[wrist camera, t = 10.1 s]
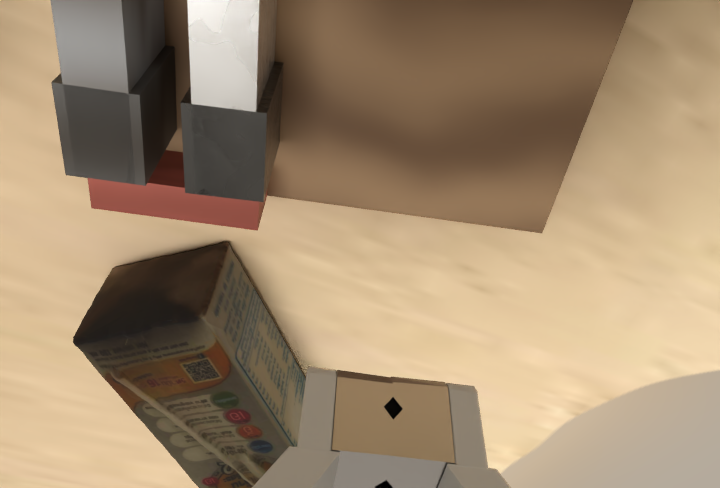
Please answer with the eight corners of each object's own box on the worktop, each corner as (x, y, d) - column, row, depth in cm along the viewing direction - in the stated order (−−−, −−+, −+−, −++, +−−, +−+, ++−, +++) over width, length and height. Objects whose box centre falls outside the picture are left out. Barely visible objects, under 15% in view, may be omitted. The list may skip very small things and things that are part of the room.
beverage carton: (242, 455, 48) (224, 542, 43) (103, 262, 37) (56, 345, 32) (343, 438, 46) (338, 525, 41) (229, 229, 35) (201, 311, 30)
